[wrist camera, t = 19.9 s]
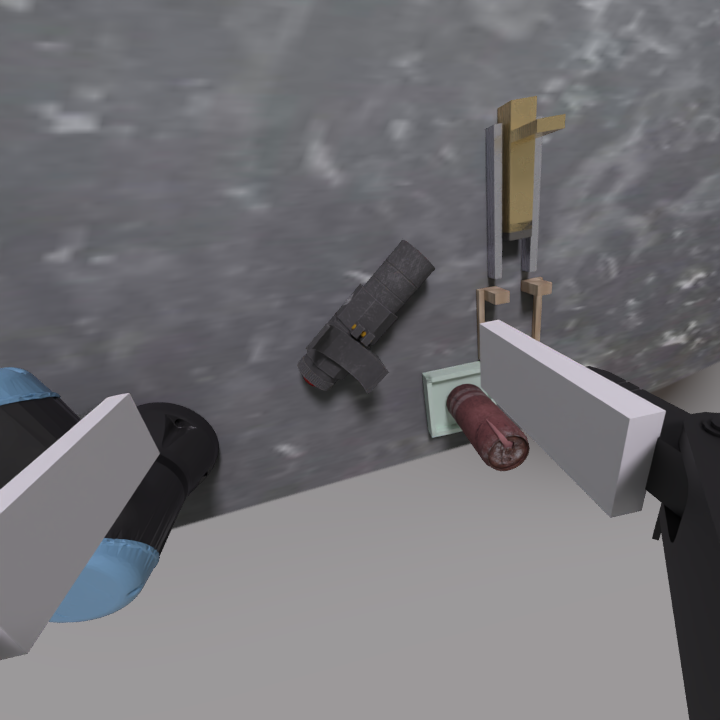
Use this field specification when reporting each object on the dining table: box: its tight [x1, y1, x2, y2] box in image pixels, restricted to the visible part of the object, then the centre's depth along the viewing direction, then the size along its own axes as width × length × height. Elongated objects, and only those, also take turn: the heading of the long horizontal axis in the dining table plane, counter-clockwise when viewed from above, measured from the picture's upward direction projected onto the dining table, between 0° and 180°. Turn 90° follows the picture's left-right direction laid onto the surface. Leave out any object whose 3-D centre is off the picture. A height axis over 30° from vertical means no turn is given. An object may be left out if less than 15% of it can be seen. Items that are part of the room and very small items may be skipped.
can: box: [446, 384, 529, 471], centre depth 48 cm, size 6×6×14 cm
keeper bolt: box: [498, 96, 565, 241], centre depth 39 cm, size 3×15×8 cm, turn 10°
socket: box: [476, 277, 552, 359], centre depth 49 cm, size 10×11×4 cm
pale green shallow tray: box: [422, 361, 496, 438], centre depth 54 cm, size 11×11×2 cm
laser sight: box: [297, 240, 435, 394], centre depth 43 cm, size 10×22×10 cm, turn 139°
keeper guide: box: [486, 116, 543, 279], centre depth 44 cm, size 6×18×2 cm, turn 10°
